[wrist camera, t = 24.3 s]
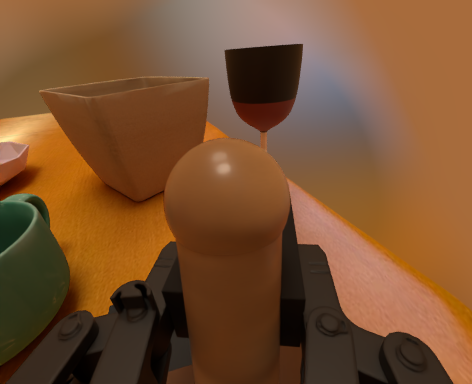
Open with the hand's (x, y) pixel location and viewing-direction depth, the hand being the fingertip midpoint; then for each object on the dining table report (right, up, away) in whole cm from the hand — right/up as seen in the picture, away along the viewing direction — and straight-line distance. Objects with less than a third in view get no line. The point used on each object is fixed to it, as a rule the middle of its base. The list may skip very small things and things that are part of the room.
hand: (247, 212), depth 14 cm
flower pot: (-17, +3, +32) cm, 36 cm away
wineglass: (+3, -1, +21) cm, 21 cm away
